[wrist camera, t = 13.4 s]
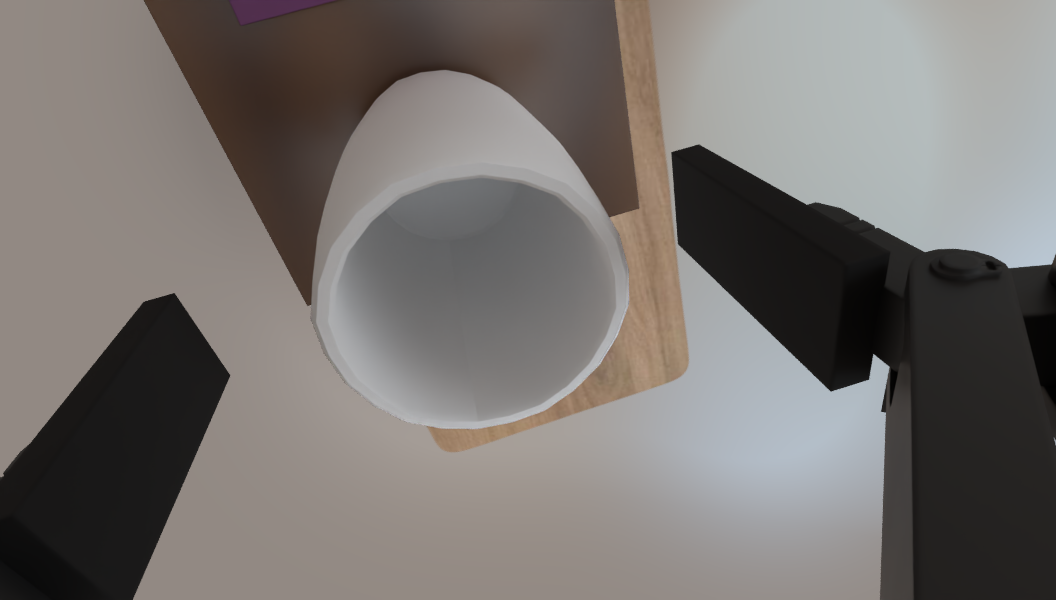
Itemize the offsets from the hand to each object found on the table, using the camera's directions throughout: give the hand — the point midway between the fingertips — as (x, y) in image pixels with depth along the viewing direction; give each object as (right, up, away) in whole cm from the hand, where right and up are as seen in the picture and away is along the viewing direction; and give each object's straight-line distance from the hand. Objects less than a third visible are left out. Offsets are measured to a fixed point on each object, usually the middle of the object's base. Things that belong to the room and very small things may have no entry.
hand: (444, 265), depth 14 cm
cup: (-2, +6, +11) cm, 13 cm away
